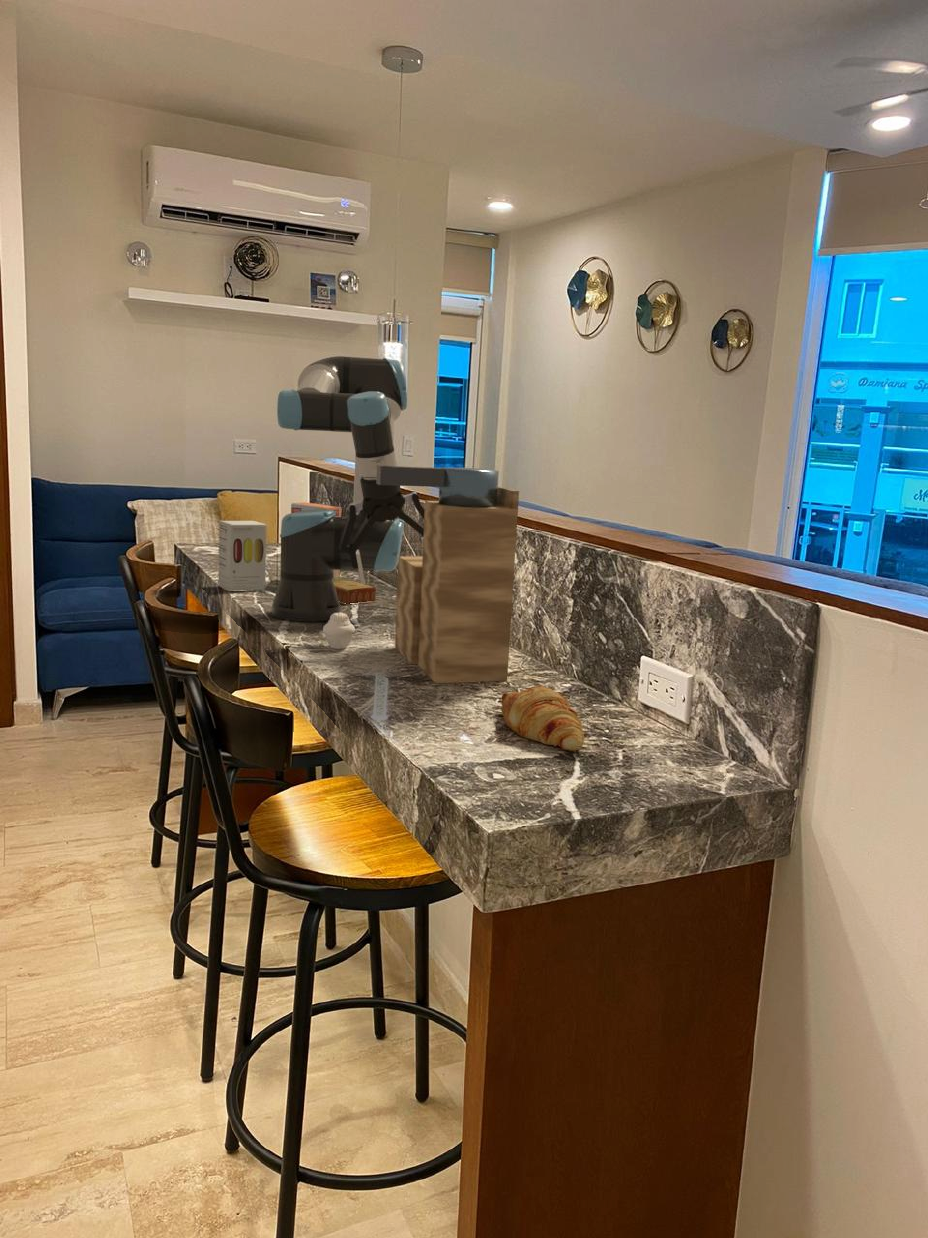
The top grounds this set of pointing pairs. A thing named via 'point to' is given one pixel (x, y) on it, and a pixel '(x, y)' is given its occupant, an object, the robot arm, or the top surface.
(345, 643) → the white ridged rounded piece
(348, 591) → the carton
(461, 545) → the pine stand
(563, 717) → the croissant
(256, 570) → the supplement box
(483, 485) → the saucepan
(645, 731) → the top surface
